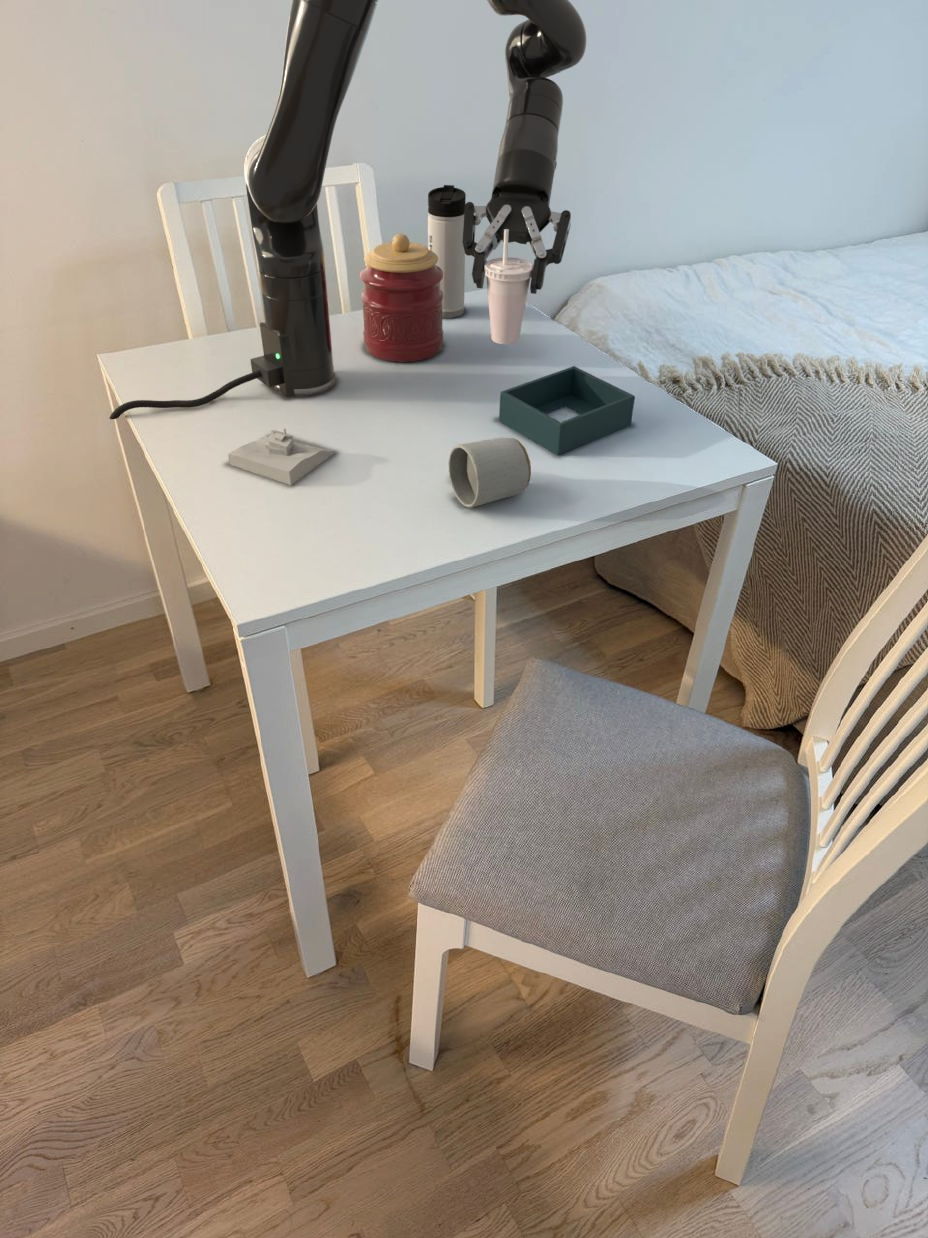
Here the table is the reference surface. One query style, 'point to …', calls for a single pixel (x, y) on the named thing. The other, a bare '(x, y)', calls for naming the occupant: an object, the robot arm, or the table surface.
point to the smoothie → (507, 294)
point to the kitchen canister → (402, 301)
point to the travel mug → (448, 244)
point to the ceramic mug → (488, 470)
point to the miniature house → (278, 457)
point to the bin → (576, 390)
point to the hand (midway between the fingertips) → (506, 287)
